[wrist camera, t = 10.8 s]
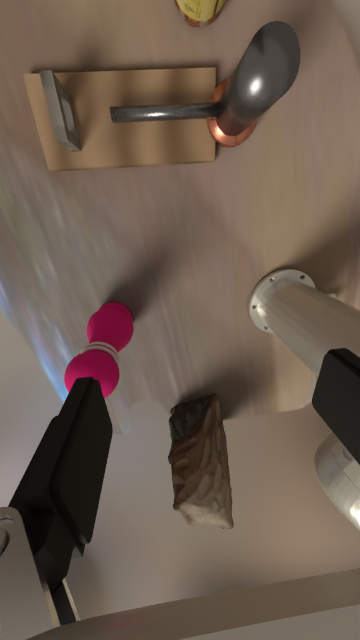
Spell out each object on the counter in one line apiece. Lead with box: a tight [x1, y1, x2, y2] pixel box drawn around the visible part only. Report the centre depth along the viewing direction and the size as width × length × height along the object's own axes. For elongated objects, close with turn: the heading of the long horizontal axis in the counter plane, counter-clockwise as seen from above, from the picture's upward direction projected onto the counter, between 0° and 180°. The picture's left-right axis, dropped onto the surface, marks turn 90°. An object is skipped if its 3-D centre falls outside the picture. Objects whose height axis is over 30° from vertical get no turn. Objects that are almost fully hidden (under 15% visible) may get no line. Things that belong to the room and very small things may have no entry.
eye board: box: [23, 67, 216, 172], centre depth 26 cm, size 22×9×6 cm, turn 93°
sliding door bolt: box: [110, 21, 300, 147], centre depth 23 cm, size 18×6×11 cm, turn 94°
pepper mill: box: [65, 302, 133, 398], centre depth 31 cm, size 7×7×20 cm
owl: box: [168, 393, 233, 529], centre depth 44 cm, size 13×13×20 cm
